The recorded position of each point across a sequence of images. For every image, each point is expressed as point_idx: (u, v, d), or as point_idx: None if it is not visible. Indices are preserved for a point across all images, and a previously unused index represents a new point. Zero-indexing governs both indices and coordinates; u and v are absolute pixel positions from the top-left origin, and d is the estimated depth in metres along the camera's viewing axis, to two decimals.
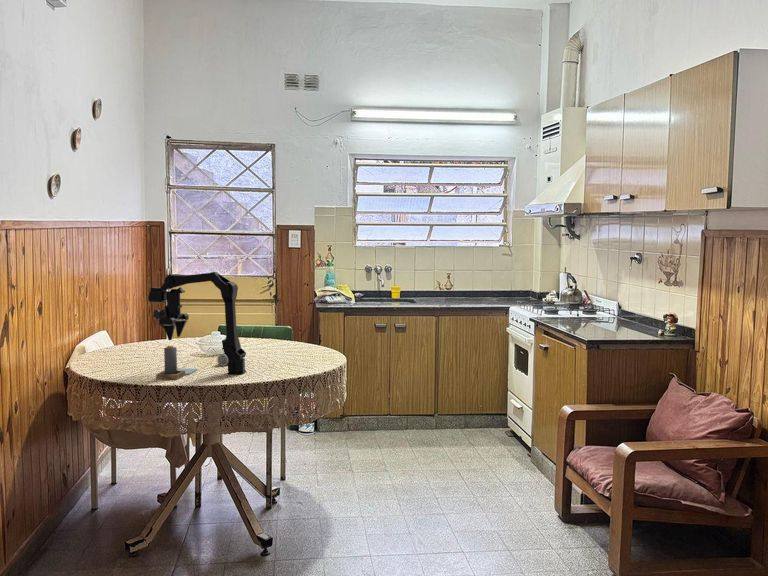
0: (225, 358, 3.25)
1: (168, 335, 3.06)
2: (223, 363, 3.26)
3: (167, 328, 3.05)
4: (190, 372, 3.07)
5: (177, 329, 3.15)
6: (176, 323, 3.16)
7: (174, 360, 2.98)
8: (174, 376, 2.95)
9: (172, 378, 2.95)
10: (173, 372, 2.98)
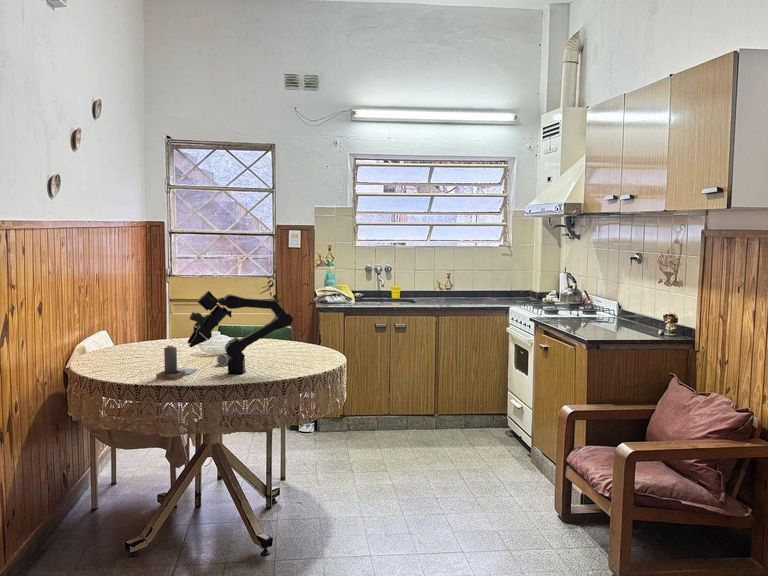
0: (225, 358, 3.25)
1: (193, 342, 2.97)
2: (223, 363, 3.26)
3: (198, 337, 2.97)
4: (190, 372, 3.07)
5: (192, 336, 3.06)
6: (195, 331, 3.07)
7: (174, 360, 2.98)
8: (174, 376, 2.95)
9: (172, 378, 2.95)
10: (173, 372, 2.98)
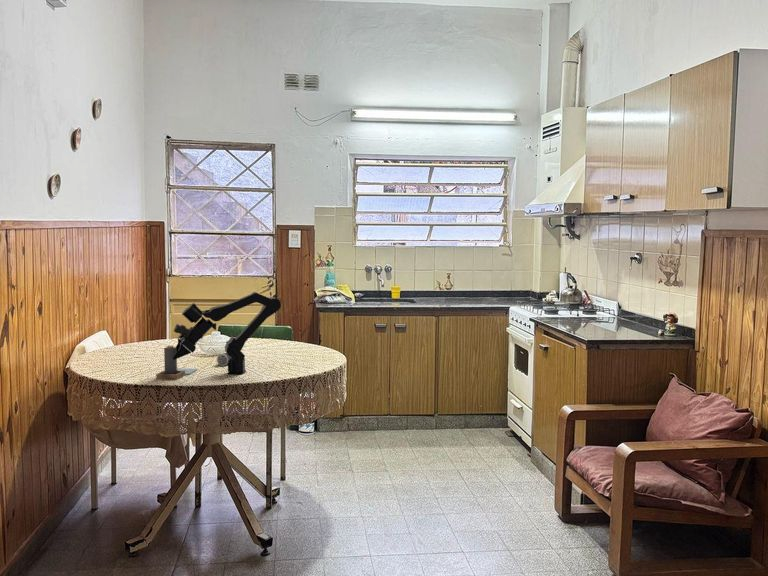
0: (225, 358, 3.25)
1: (176, 355, 2.95)
2: (223, 363, 3.26)
3: (182, 349, 2.95)
4: (190, 372, 3.07)
5: None
6: (180, 343, 3.05)
7: (174, 360, 2.98)
8: (174, 376, 2.95)
9: (172, 378, 2.95)
10: (173, 372, 2.98)
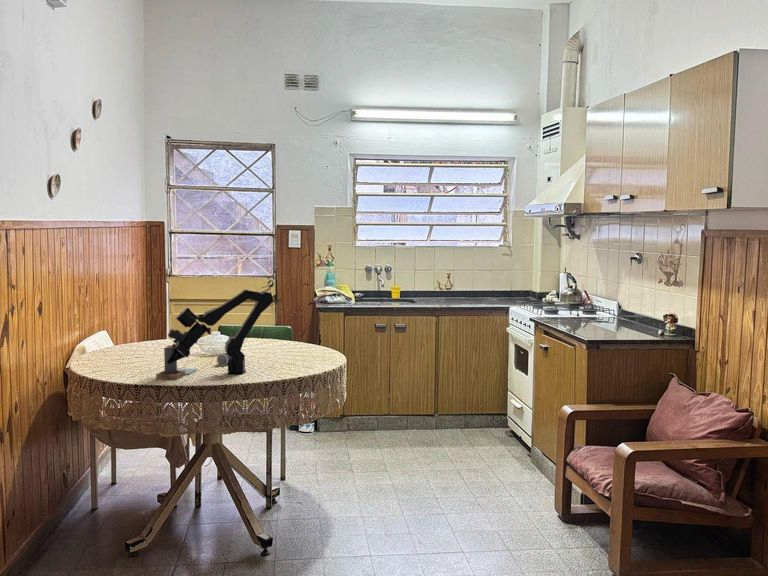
0: (225, 358, 3.25)
1: (170, 359, 2.96)
2: (223, 363, 3.26)
3: (176, 353, 2.96)
4: (190, 372, 3.07)
5: None
6: None
7: None
8: (174, 376, 2.95)
9: (172, 378, 2.95)
10: (173, 372, 2.98)
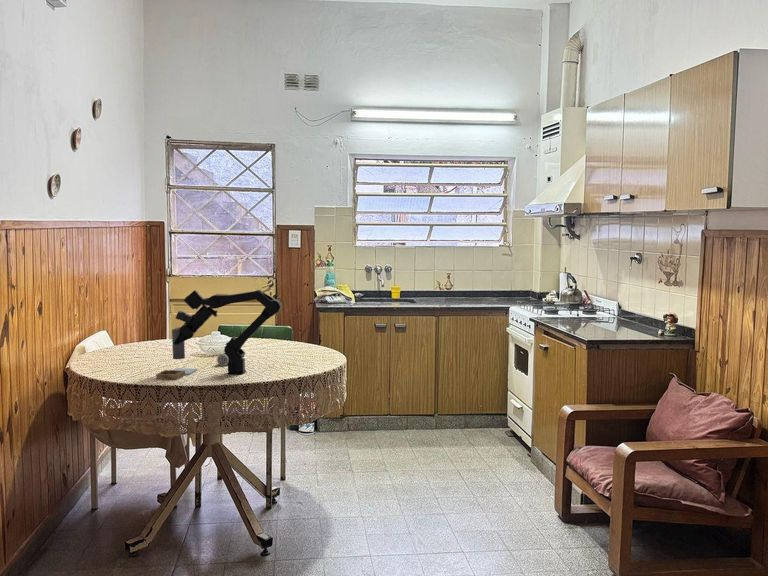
0: (225, 358, 3.25)
1: (177, 340, 3.03)
2: (223, 363, 3.25)
3: (181, 335, 3.03)
4: (190, 372, 3.07)
5: None
6: None
7: None
8: (174, 376, 2.95)
9: (172, 378, 2.95)
10: (180, 353, 3.05)
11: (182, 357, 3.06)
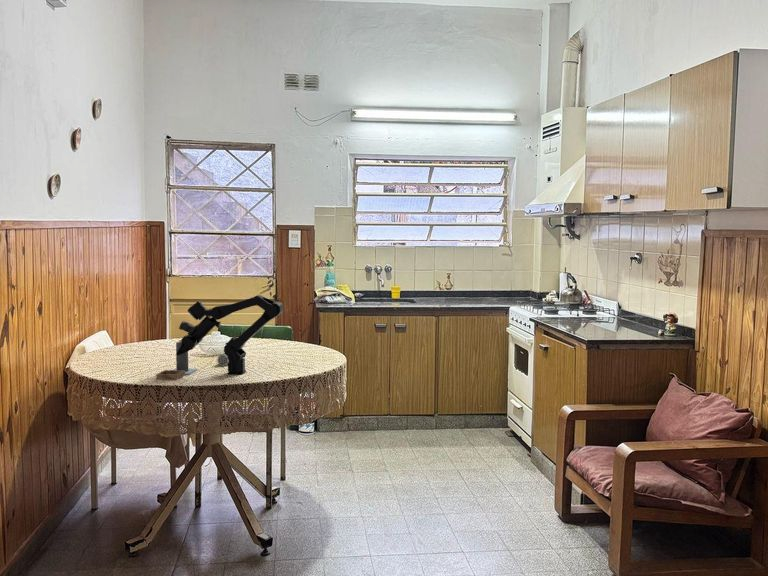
0: (226, 358, 3.25)
1: (179, 351, 3.04)
2: (223, 363, 3.25)
3: (183, 345, 3.04)
4: (190, 372, 3.07)
5: None
6: None
7: (184, 354, 3.07)
8: (174, 376, 2.95)
9: (172, 378, 2.95)
10: (183, 366, 3.08)
11: (185, 370, 3.08)
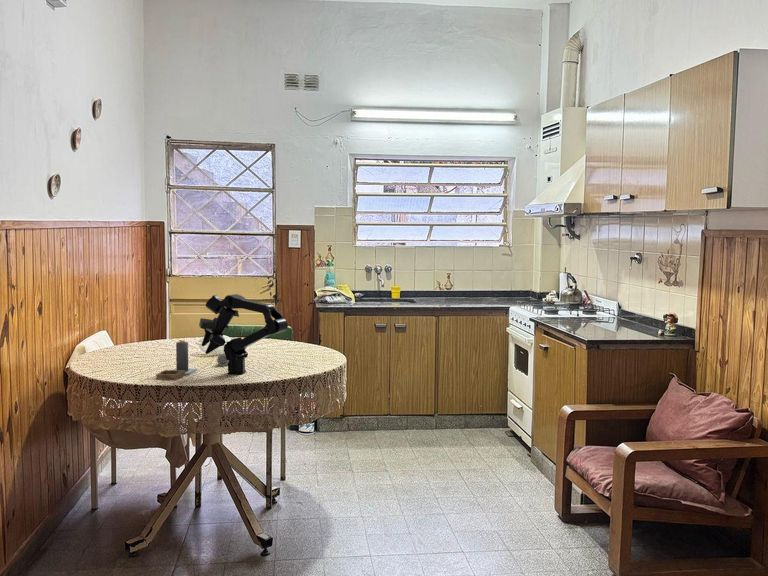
0: (225, 358, 3.25)
1: (208, 350, 3.05)
2: (223, 363, 3.25)
3: (212, 344, 3.05)
4: (190, 372, 3.07)
5: (205, 339, 3.14)
6: (207, 333, 3.14)
7: (184, 355, 3.07)
8: (174, 376, 2.95)
9: (172, 378, 2.95)
10: (183, 366, 3.07)
11: (185, 370, 3.08)
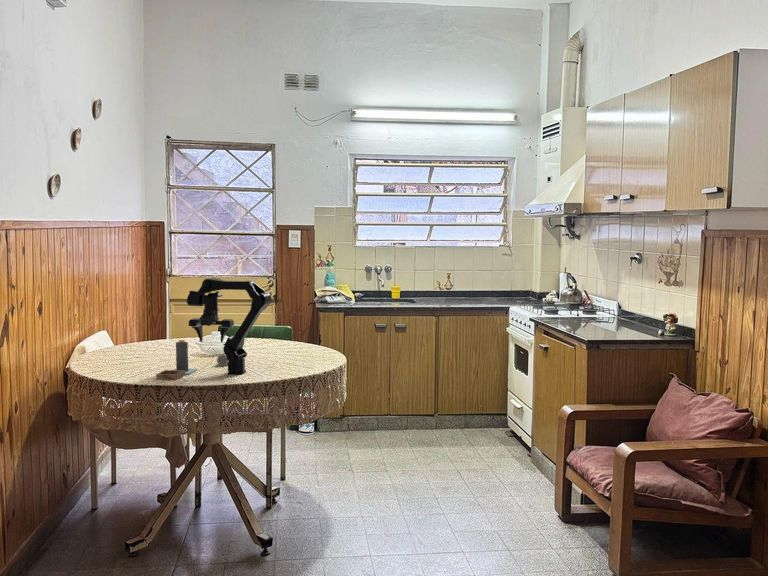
0: (225, 358, 3.25)
1: (223, 337, 3.11)
2: (223, 363, 3.25)
3: None
4: (190, 372, 3.07)
5: (200, 334, 3.11)
6: (199, 328, 3.11)
7: (184, 354, 3.08)
8: (174, 376, 2.95)
9: (172, 378, 2.95)
10: (183, 366, 3.08)
11: (185, 370, 3.08)
